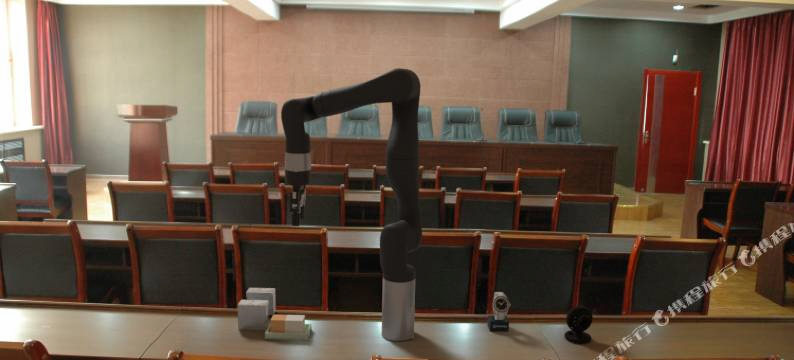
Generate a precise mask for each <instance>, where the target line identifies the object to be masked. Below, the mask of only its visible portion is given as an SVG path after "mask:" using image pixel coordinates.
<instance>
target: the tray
mask: <svg viewBox="0 0 794 360" xmlns="http://www.w3.org/2000/svg"><path fill="white" fill-rule="evenodd" d="M311 333H312V323H305V331H304V333H275V332H271V322H269V323H268V327H267V329H266V330H265V332H264V339H265V340H280V341H281V340H282V341H283V340H284V341H285V340H286V341H289V340H290V341H309V338H310V335H311Z"/></svg>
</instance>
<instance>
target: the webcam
mask: <svg viewBox="0 0 794 360" xmlns="http://www.w3.org/2000/svg"><path fill="white" fill-rule="evenodd" d="M593 317H594V316H593V313H592V311H591V310H590V309H589V308H588V307H586V306H584V305H577V306H574V307H572V308H570V309H569V311H568V312H567V314H566V319H565V321H566V325H567V327H568V329H569V330H567V331H565V333H564V339H566V341H568V342H570V343H573V344H575V345H588V344H589V343H591V342H592V340H593V339H592V336H591V335H590V333H587V332H586V331H587V330H588V329H589V328H590V327H591V325H592V324H593V319H594V318H593ZM572 336H574V337H572Z"/></svg>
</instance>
